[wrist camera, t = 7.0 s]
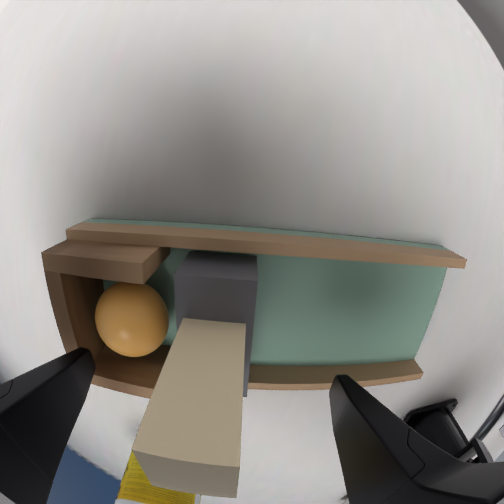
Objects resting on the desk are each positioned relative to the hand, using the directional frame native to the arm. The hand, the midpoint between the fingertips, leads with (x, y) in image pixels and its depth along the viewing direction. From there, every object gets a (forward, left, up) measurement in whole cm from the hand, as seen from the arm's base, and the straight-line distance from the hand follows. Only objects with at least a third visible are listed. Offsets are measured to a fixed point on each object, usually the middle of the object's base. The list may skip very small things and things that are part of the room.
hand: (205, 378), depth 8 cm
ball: (+6, 0, -3) cm, 7 cm away
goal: (+5, 0, -6) cm, 8 cm away
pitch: (-2, 0, -6) cm, 7 cm away
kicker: (0, 0, -5) cm, 5 cm away
